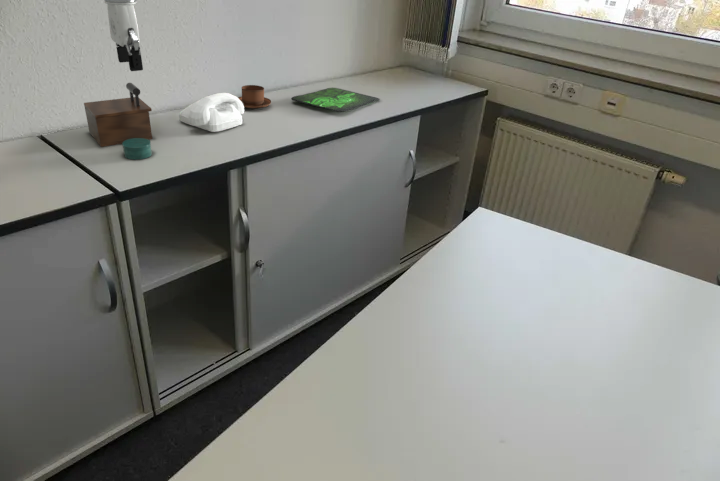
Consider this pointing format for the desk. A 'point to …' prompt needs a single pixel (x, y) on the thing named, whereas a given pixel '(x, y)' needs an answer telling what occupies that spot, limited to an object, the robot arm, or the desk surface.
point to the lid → (119, 105)
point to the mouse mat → (335, 99)
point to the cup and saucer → (254, 97)
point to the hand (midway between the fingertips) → (130, 66)
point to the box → (119, 127)
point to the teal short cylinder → (137, 148)
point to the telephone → (214, 112)
